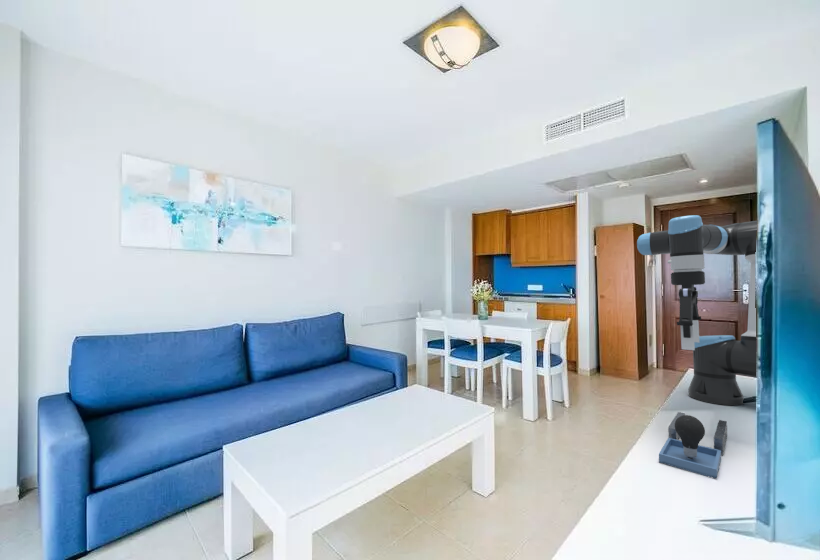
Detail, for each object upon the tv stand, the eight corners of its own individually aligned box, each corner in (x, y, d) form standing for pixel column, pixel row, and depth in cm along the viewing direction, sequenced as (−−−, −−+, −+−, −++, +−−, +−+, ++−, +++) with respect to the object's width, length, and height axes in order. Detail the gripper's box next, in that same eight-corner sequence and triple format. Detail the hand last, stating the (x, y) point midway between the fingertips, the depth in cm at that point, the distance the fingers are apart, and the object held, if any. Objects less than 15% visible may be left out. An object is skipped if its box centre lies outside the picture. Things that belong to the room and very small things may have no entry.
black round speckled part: (706, 466, 78) (705, 422, 78) (675, 459, 81) (674, 416, 82) (705, 457, 83) (703, 414, 83) (675, 450, 86) (674, 410, 86)
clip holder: (678, 425, 103) (678, 411, 103) (727, 436, 95) (726, 421, 95) (668, 442, 91) (668, 427, 92) (723, 456, 84) (722, 439, 84)
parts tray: (668, 445, 90) (668, 437, 90) (721, 458, 83) (720, 450, 83) (659, 462, 81) (658, 453, 81) (716, 479, 74) (716, 469, 74)
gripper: (676, 271, 110) (680, 338, 110) (663, 271, 92) (667, 351, 92) (707, 270, 105) (711, 340, 104) (700, 270, 87) (704, 354, 86)
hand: (690, 345), depth 98 cm, fingers open, 13 cm apart
